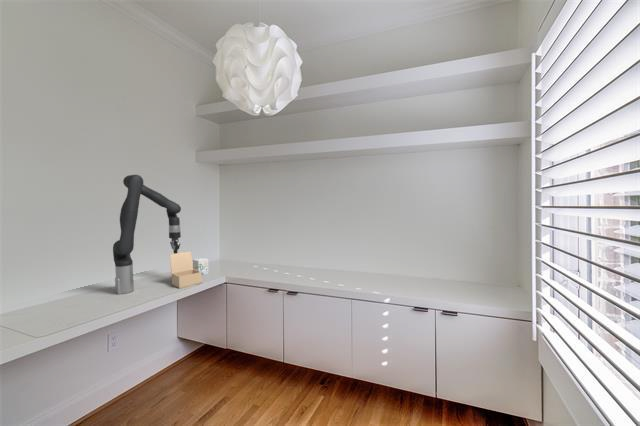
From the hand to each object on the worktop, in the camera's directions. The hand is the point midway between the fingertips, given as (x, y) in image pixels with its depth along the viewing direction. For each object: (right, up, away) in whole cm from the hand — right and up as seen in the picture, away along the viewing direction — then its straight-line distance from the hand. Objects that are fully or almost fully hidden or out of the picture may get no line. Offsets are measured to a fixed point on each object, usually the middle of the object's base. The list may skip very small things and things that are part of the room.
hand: (175, 255), depth 213 cm
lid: (+8, -4, -7) cm, 11 cm away
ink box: (+12, -17, +16) cm, 26 cm away
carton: (+13, -18, -11) cm, 25 cm away
